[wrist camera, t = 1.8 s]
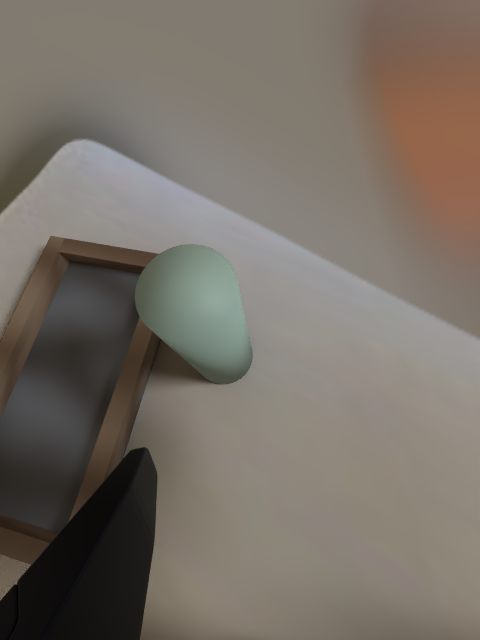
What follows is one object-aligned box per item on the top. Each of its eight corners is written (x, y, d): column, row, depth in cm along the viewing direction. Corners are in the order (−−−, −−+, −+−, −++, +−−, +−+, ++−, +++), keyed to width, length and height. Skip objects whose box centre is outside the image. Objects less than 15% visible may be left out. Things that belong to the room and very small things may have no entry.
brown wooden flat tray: (88, 565, 19) (70, 578, 18) (-58, 516, 21) (-87, 523, 19) (183, 268, 25) (176, 256, 24) (64, 248, 27) (50, 235, 25)
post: (245, 390, 22) (223, 350, 12) (188, 377, 23) (120, 328, 12) (257, 334, 23) (248, 252, 13) (204, 323, 24) (153, 237, 13)
